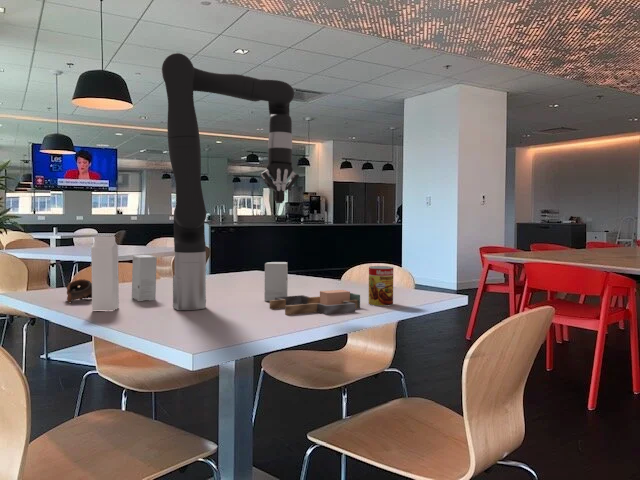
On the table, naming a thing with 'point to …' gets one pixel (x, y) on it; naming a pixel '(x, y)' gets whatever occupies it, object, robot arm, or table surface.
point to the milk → (105, 273)
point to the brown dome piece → (79, 290)
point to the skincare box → (144, 277)
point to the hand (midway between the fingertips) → (279, 203)
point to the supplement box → (276, 280)
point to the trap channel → (314, 305)
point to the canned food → (380, 285)
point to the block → (334, 297)
